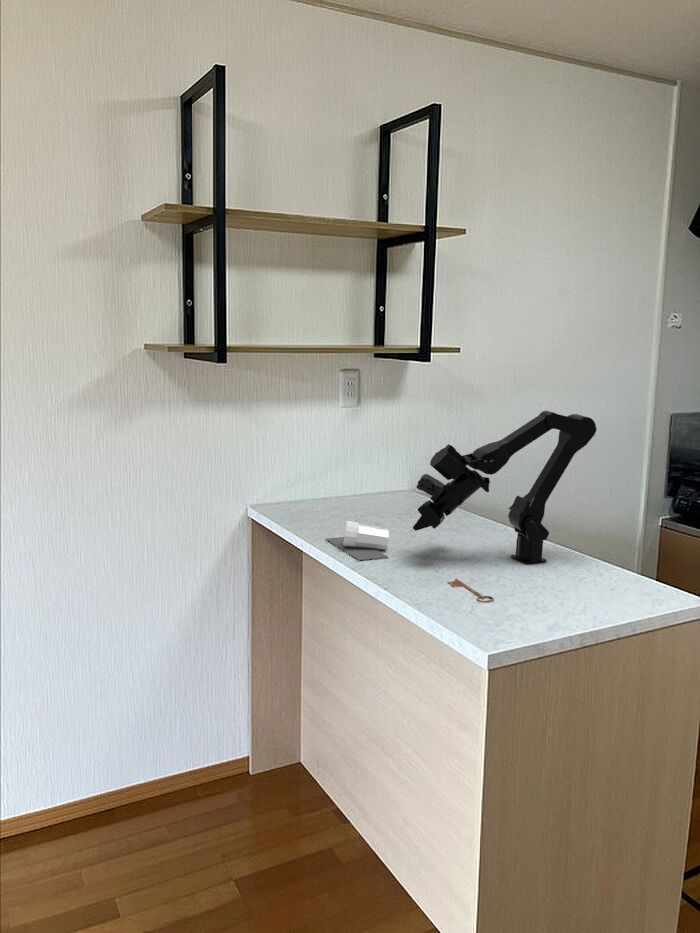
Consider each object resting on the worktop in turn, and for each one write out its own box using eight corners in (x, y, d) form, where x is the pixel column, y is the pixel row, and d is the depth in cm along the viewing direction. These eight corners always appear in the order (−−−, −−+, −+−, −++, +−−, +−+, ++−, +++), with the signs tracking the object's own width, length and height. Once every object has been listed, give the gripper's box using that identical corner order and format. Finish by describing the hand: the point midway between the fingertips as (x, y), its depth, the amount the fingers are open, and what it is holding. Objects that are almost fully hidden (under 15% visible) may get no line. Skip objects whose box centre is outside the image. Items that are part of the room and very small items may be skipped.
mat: (387, 558, 205) (388, 556, 205) (358, 561, 201) (358, 559, 201) (352, 537, 222) (352, 536, 222) (325, 540, 219) (325, 538, 219)
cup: (388, 529, 215) (346, 523, 215) (390, 524, 209) (347, 518, 209) (385, 554, 213) (342, 548, 213) (387, 550, 207) (343, 543, 207)
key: (441, 584, 188) (472, 607, 174) (441, 581, 188) (472, 602, 174) (464, 580, 190) (496, 602, 176) (463, 577, 190) (496, 598, 176)
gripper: (446, 458, 210) (403, 497, 216) (427, 471, 193) (381, 512, 199) (475, 491, 209) (431, 529, 215) (459, 507, 192) (412, 548, 198)
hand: (414, 529), depth 207 cm, fingers closed
